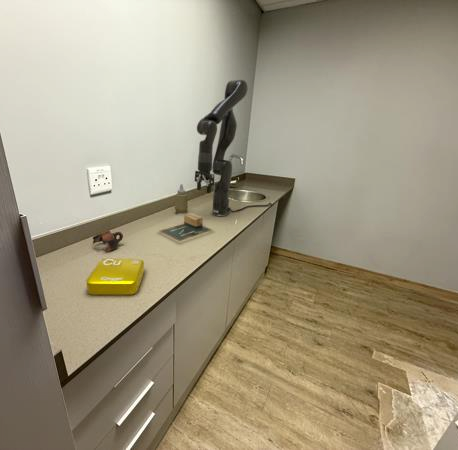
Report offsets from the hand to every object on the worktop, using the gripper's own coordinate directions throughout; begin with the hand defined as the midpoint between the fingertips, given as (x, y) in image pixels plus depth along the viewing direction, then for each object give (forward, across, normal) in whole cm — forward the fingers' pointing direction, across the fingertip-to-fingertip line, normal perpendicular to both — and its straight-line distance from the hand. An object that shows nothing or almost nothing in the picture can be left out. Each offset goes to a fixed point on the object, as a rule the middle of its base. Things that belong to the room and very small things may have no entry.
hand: (203, 191), depth 133 cm
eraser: (+16, -6, +11) cm, 20 cm away
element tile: (+18, -33, +60) cm, 71 cm away
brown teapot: (+18, -6, +55) cm, 58 cm away
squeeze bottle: (+17, +17, +3) cm, 25 cm away
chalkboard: (+17, -10, +18) cm, 27 cm away
